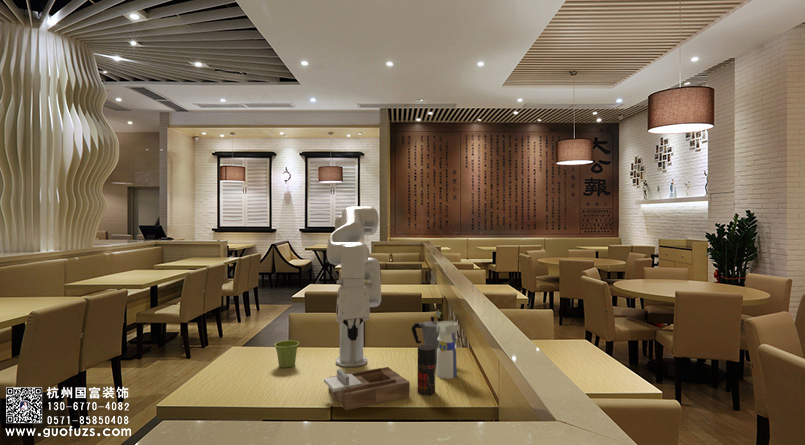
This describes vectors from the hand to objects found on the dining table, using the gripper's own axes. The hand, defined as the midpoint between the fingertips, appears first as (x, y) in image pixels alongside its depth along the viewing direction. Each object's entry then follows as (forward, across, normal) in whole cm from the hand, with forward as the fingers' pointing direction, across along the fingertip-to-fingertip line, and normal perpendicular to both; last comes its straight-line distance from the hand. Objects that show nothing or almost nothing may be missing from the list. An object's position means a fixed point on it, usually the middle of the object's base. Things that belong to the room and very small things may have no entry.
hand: (352, 339), depth 143 cm
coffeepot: (+19, +40, +23) cm, 50 cm away
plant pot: (+19, -14, +40) cm, 47 cm away
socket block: (+19, +6, +1) cm, 20 cm away
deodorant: (+19, +24, -5) cm, 31 cm away
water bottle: (+19, +38, +6) cm, 43 cm away
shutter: (+14, -3, 0) cm, 14 cm away
